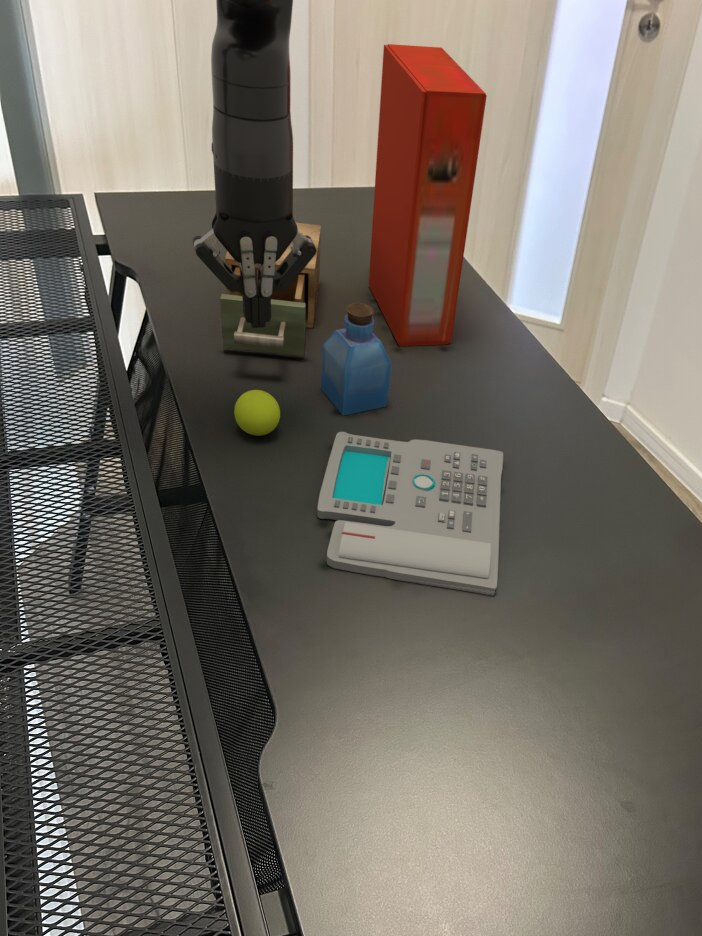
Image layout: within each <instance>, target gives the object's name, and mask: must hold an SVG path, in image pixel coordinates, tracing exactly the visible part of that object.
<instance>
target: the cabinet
mask: <svg viewBox="0 0 702 936" xmlns="http://www.w3.org/2000/svg"><path fill="white" fill-rule="evenodd" d="M295 223H296V225H297V228H298V231H299V232H300V233H302V234H303V235H304V236H305V235H308V236H310V237H311V239H312V241H313V243H314V245H315V247H316V250H317V252H316V254H315V256H314V257H313V258H312V259H311V261H310V262H309V263H308V264H307V266H306V267H305V268H304V269H303V270H302V272H301V273H306V319H305V328H307V329H309V328H310V329H314V324H315V317H316V310H317V301H318V294H319V287H320V274H321V273H320V271H321V269H320V268H321V243H322V242H321V241H322V239H321V238H322V237H321V236H322V225H321V224H313V223H312V224H311V223H303V222H296V221H295ZM291 243H292V242H291ZM290 246H291V244H290V245H289V246H288V248H287V249H286V251H285V252H284V253H283V255H282V256H281V257H280V259H279V260H277V261H276V262H275V270H276V269H277V268H278V267H279V265H280V264H281V263H282V262H283V260H284V259H285V258H286V257H287V255H288V254H289V253H290V252H291V248H290ZM224 257H225V258H224V262H225V263H226V264H227V265H228V266H229V268H230V269H231V270H232V271H233V272H234V271H235V268H236V265H237V266H239V263H238V262H237V261H236V260H234V258H233V257H232V256H231V255H230V254H229V252H228V251H227V250H226V254H225V256H224ZM254 267H255V268H258V265H257V264H254ZM225 288H226V287H225ZM226 294H228V295H229V290H228V289H227V288H226Z"/></svg>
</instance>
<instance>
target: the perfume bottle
mask: <svg viewBox="0 0 702 936" xmlns="http://www.w3.org/2000/svg"><path fill="white" fill-rule="evenodd" d="M374 311H375V310H374V309H373V307H372V306H370V305H368V304H366V303H361V302H354V303H350V304H348V305H347V306H346V313H347V314H346V315H345V316H344V328H339V329H335V330H334V331H333V332H332V334H331V335H330V336H329V337H328V339H327V340H326V341H325V342H324V343H323V344H322V353H321V354H322V355H321V356H322V357H321V360H322V361H321V379H320V380H321V382H320V383H321V384H320V390H321V392H323V394H325V396H326V397H327V398H328V400H329V401H330V402H331V403H332V405H333V406H334V407H335V408H336V410H338V411H339V413H340V414H341V416H342V417H343V416H348V415H349V416H350V415H353V414H358V413H362V412H367V411H372V410H377V409H381V408H385V407H388V401H389V392H390V381H391V373H392V372H391V371H392V361H391V359H390V357H389V355H388V353H387V351H386V349H385V347H384V344H383V343H382V340H380V339H379V338H378V337H377V336H376V334H375V333H374V332H373V331H374V327H375V319H374V317H373V315H374V313H375V312H374Z"/></svg>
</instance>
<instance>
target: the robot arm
mask: <svg viewBox="0 0 702 936" xmlns="http://www.w3.org/2000/svg"><path fill="white" fill-rule="evenodd" d="M293 6H294V0H216V28H215V32H214V35H213V39H212V43H211V53H210V62H211V63H210V67H211V70H210V72H211V90H212V121H211V122H212V124H211V138H212V139H211V140H212V142H211V153H212V157H213V175H214V176H213V177H214V192H215V214H214V217H213V219H212V220H211V221H212V222H211V229H210V230H209V231H208V232H206V233H205V234H204V235H203V236H201V235H196V236H194V237H193V238H192V245H193V248H194V251H195V255H196V256H197V258H199V259H200V260H201V262H202V263H203V264H204V265H205V266H206V267H207V268H208V269H209V271H211V272H212V274H213V275H214V276H215V277H216V278H217V279H218V280H219V282H220V283H222V284H223V286H224V287H225V288H227V289H228V290H229V291H230V292H236V291H237V292H240V293H242V300H243V314H244V317H245V319H246V321H247V323H250V324H251V326H252V328H260V327H265V326H266V322H270V319H271V295H272V294H273V293H274V292H275V291H278V290H280V291H286V290H287V289H288V288H289V287H290V285H291V284H292V283H293V282H294V280H295V279H296V278H297V277H298V275H299V274H300V273H301V272H302V270H303V269H304V268H305V267H306V266H307V264H308V263H309V262H310V261H311V259H312V258H313V257H314V256H315V254H316V252H317V250H316V247H315V245H314V243H313V241H312V239H311V237H310V236H308V235H305V236H304V235H303V234H302V233H300V232H299V231H298V228H297V225H296V223H297V222H296V221H295V218H294V214H293V213H294V210H293V209H294V134H293V133H294V132H293V125H292V112H291V101H292V100H291V95H292V94H291V91H292V90H291V88H292V87H291V84H292V83H291V82H292V76H291V75H292V73H291V58H290V57H291V55H290V37H291V30H292V29H291V28H292V18H293ZM295 222H296V223H295ZM219 242H220V244H221V245H222V246H223V248H224V249H225V250H226V252H227V251H228V252H229V254H230V255H231V256H232V257H233V258H234V260H236V261H237V262H238V263H239V268H240V275H236V274H235V273H234V272H233V271H232V270H231V269H230V268H229V266H228V265H227V264H226V263H225V260H224V259H222V257H221V256H220V254H221V250H220V248H219V244H218V243H219ZM291 242H292V243H291ZM290 244H291V246H290V248H291V252H290V253H289V254H288V255H287V257H286V258H285V259H284V260H283V262H282V263H281V264H280V265H279V267H278V268H277V269H276V270H275V262H276V261H277V260H279V259H280V257H281V256H282V255H283V253H284V252H285V251H286V249H287V248H288V246H289V245H290ZM254 264H257V265H258V269H257V288H256V283H255V267H254ZM227 289H226V290H227Z"/></svg>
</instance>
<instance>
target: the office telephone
mask: <svg viewBox="0 0 702 936" xmlns="http://www.w3.org/2000/svg"><path fill="white" fill-rule="evenodd" d="M503 466H504V452H503V451H500V450H496V449H490V448H484V447H477V446H476V447H475V446H468V445H462V444H461V445H460V444H455V443H447V442H440V441H435V440H426V439H418V438H417V439H410V440H409V441H400V440H393V439H384V438H377V437H371V436H364V435H357V434H351V433H347V432H346V431H338V432H337V433H336V435H335V438H334V441H333V444H332V448H331V451H330V454H329V458H328V461H327V466H326V469H325V473H324V477H323V479H322V484H321V487H320V491H319V497H318V501H317V509H316V510H317V513H316V517H317V518H319V519H321V520H325V519H326V520H335V522H334V524H333V528H332V531H331V533H330V534H331V535H330V539H329V543H328V547H327V551H326V564H327V566H329V567H331V568H332V569H335V570H341V571H347V572H351V573H357V574H363V575H368V576H375V577H383V578H386V579H391V580H394V581H395V580H396V581H402V582H407V583H415V584H421V585H427V586H433V587H439V588H446V589H449V590H450V589H452V590H456V591H457V590H458V591H464V592H470V593H476V594H482V595H488V596H492V597H493V596H494V595H495V594H496V592H495V593H494V594H492V593H486V592H481V591H475V590H469V589H462V588H456V587H450V586H444V585H437V584H431V583H438V584H445V585H454V586H462V587H470V588H475V589H483V590H490V591H495V590H496V591H497V588H498V574H499V550H500V548H499V547H500V521H501V520H500V519H501V518H500V517H501V491H502V490H501V489H502V488H501V487H502V484H501V483H502V474H503ZM412 580H415V581H412ZM419 581H424V582H419ZM425 582H430V583H425Z"/></svg>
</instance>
